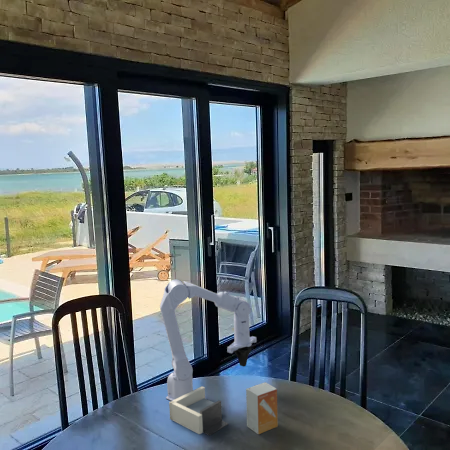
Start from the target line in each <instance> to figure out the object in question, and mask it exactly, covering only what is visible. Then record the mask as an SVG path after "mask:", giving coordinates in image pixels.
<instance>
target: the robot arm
mask: <svg viewBox="0 0 450 450" xmlns="http://www.w3.org/2000/svg"><path fill="white" fill-rule="evenodd" d="M195 297H197V298H200V299H203V300H207V301H210V302H213V303H214V305H215V307H217V308H219V309H221V310H225V311H228V312H230V313H233V330H234V331H233V335H234V337H233V338H234V341H233V342H232V343H231V344H230V345H229V346H226V347H227V348H226V349H227V351H226V352H227V353H229V354H233V353H235V355H236V357H237V360H238V363H239V366H240V367H244V368H245V367H246V366H247V363H248V359H249V355H250V354H251V351H252V344H253V343H254V344H255V343H257V341H258V340H257V336H253V335H252V336H250V314H251V311H252V308H251V306H250V303H248V301H247V300H245V299H243V298H242V297H239V296H233V295H231V294H229V292H227V291H224V292H223V291H219V292H218V293H217V292H213V291H212V290H208V289H206V288H204V287H201V286H199V285H197V284H195V283H191V282H189V281H184V280H183V281H182V280H180V279H177V278H176V279H171V280H170V281H169V282H168V283H167V284H166V286H165V287H164V292H163V295H162V298H161V301H160V305H159V308H160V313H161V317H162V321H163V325H164V328H165V331H166V337H167V340H168V343H169V347H170V351H171V367H172V368H173V372H171V373H170V374H169V375H168V377H167V381H166V384H167V385H166V388H167V396H166V397H165V399H167V400H169V401H170V402H171V401H173V400H175V399H177V398H179V397H181V396H183V395H185V394H187V393H189V392H191V391H193V390H194V386H193V371H194V370H193V367H192V365H191V363H190V361H189V358H188V356H187V354H186V351H185V348H184V347H185V346H184V343H183V339H182V335H181V331H180V328H179V324H178V319H177V317H176V313H175V310H176V309H177V307H178V306H179V305H181V304H182V303H184V301H185V300H187V299H189V300H190V299H192V298H195Z"/></svg>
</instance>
